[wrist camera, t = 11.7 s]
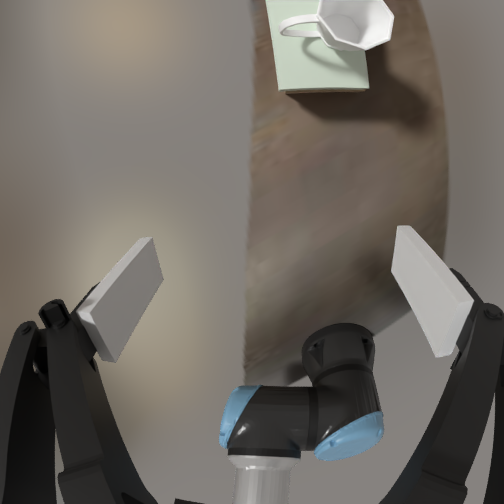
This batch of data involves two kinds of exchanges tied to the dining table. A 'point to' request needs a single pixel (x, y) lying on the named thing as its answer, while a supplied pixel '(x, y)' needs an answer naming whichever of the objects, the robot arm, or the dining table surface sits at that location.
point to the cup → (346, 24)
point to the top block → (311, 54)
